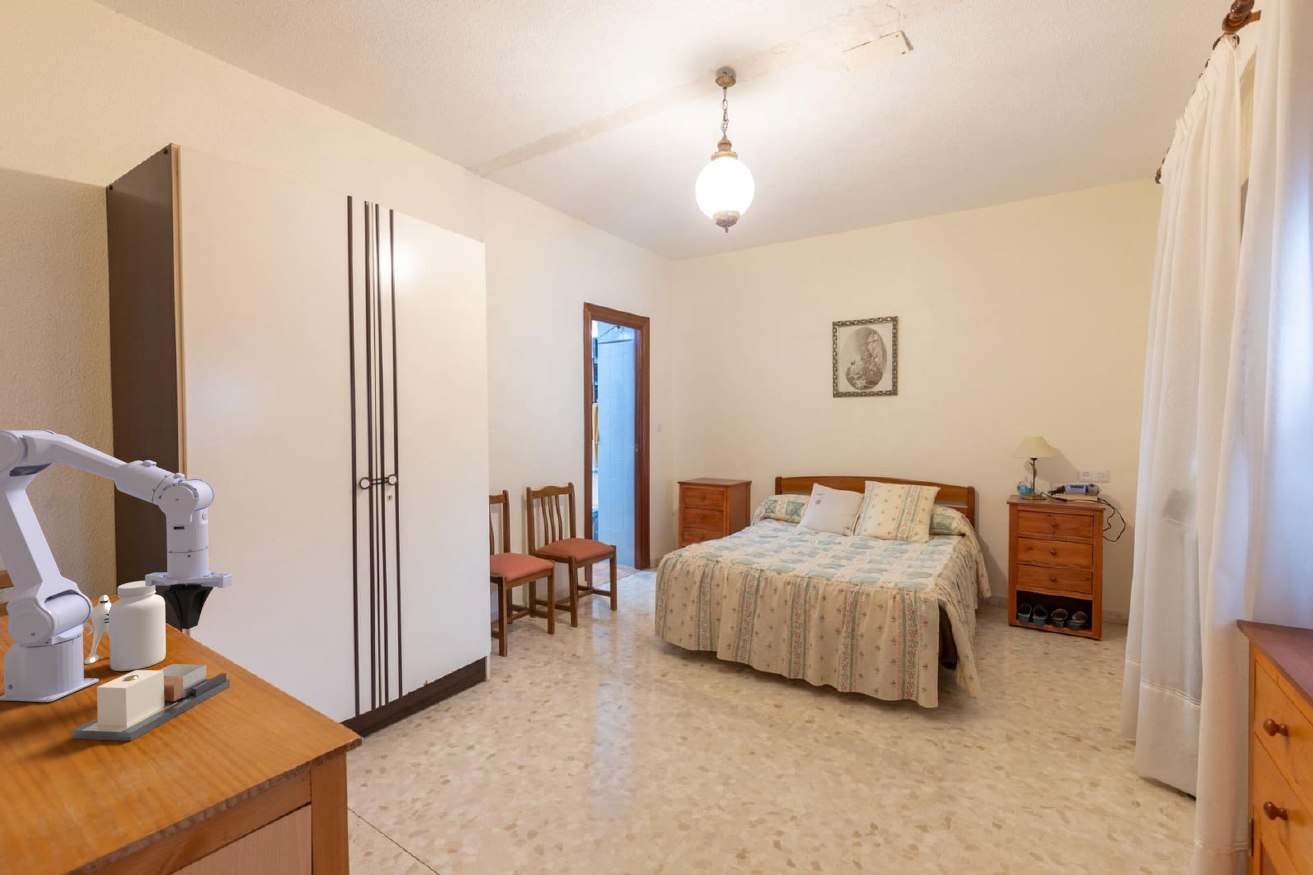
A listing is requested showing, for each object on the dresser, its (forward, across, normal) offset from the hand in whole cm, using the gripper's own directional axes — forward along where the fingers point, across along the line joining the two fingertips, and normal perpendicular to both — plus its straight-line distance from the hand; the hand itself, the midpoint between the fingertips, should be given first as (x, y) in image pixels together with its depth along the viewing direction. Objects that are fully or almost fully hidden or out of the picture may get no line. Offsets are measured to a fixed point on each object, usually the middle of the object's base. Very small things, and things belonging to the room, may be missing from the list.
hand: (189, 627), depth 104 cm
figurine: (+10, -25, +8) cm, 28 cm away
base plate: (+9, +4, -11) cm, 15 cm away
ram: (+8, +4, -8) cm, 12 cm away
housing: (+8, +4, -15) cm, 18 cm away
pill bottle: (+10, -16, +6) cm, 20 cm away
